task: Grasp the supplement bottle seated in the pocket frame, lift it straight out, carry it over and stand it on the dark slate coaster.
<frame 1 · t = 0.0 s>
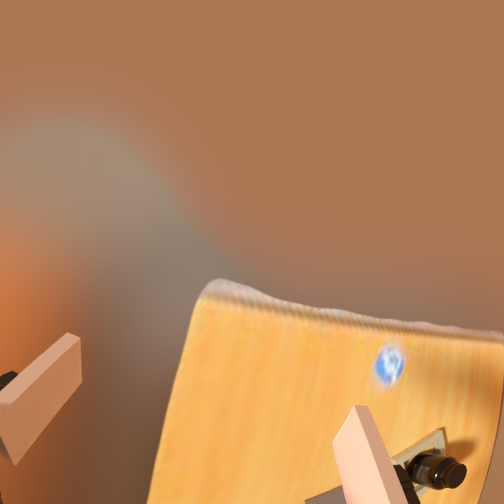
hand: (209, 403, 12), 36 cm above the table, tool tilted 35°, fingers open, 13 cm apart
supplement bottle: (418, 466, 41), resting in pocket frame
pocket frame: (419, 466, 41), on the table
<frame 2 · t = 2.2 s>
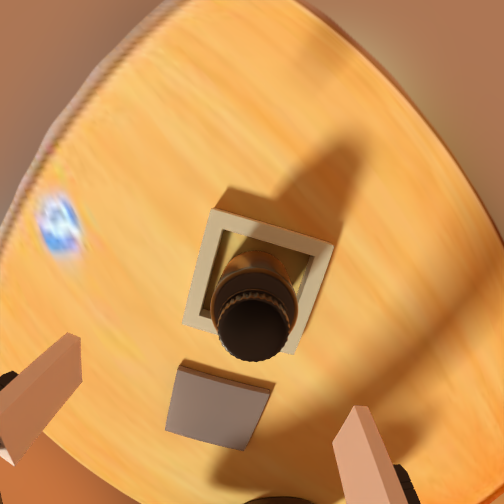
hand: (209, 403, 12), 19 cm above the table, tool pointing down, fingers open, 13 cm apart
slate coaster: (214, 410, 35), on the table
supplement bottle: (255, 280, 31), resting in pocket frame
pocket frame: (255, 281, 31), on the table
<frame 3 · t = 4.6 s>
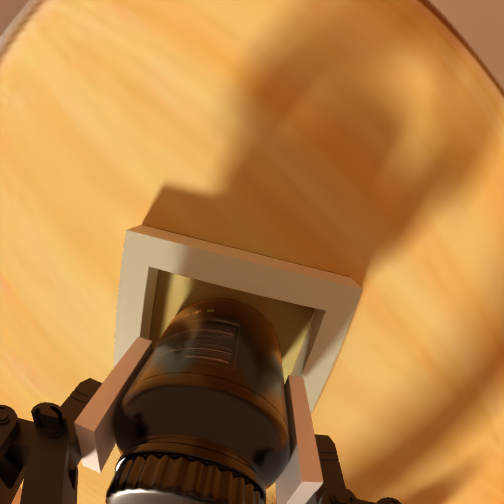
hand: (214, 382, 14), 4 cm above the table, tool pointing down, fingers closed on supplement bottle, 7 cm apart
supplement bottle: (222, 345, 18), resting in pocket frame, touching gripper
pocket frame: (222, 347, 18), on the table
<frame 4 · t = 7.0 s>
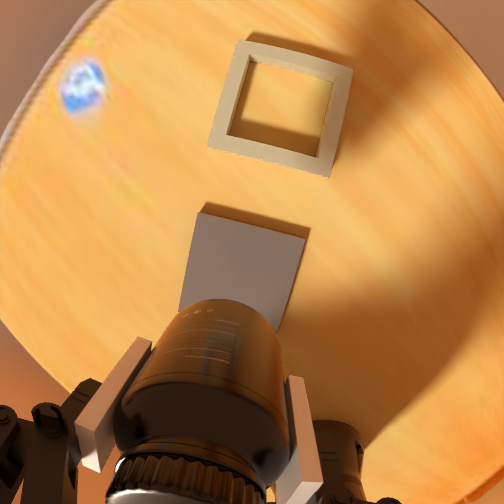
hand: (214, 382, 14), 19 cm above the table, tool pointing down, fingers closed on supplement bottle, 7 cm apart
slate coaster: (239, 275, 32), on the table
supplement bottle: (222, 345, 18), point 15 cm above the table, touching gripper
pocket frame: (282, 107, 29), on the table
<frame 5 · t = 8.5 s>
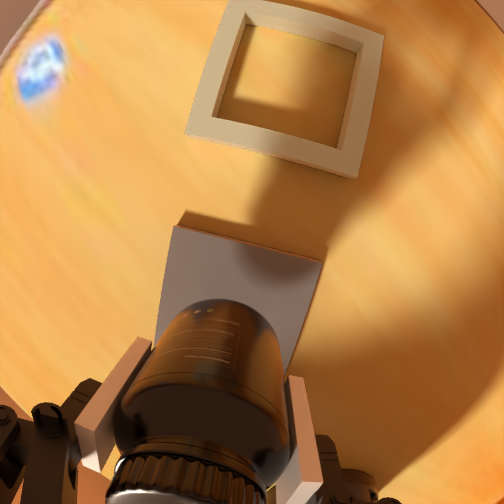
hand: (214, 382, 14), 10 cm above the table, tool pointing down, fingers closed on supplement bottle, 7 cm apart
slate coaster: (231, 309, 24), on the table
supplement bottle: (222, 345, 18), point 6 cm above the table, touching gripper
pocket frame: (289, 82, 20), on the table
when the fingers open (6 cm above the table, at t = 9.7 s): supplement bottle drops 1 cm, resting on slate coaster.
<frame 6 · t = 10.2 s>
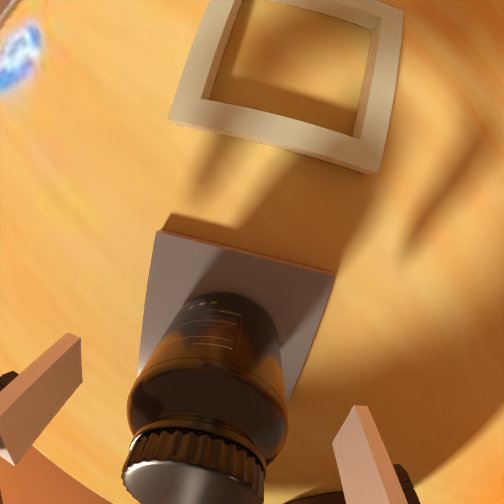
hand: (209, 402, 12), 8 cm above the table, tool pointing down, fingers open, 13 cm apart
slate coaster: (226, 329, 20), on the table
supplement bottle: (225, 335, 19), point 1 cm above the table, touching slate coaster
pocket frame: (295, 60, 16), on the table
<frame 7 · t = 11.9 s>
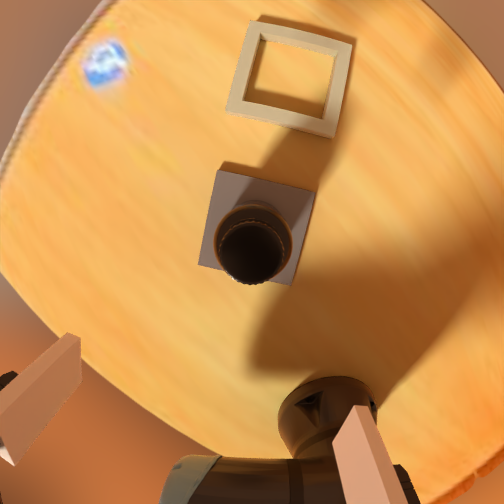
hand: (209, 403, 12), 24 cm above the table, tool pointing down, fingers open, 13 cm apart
slate coaster: (255, 227, 35), on the table
supplement bottle: (255, 229, 34), point 1 cm above the table, touching slate coaster
pocket frame: (290, 78, 31), on the table
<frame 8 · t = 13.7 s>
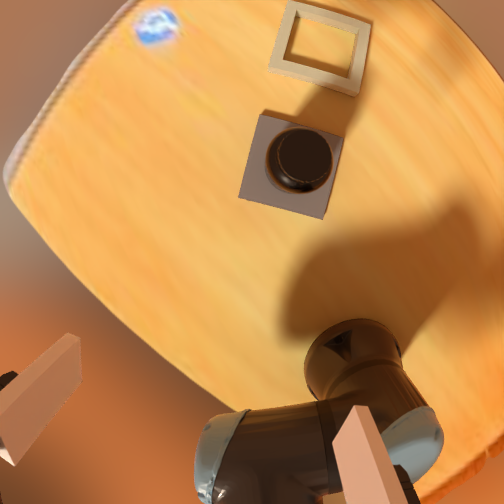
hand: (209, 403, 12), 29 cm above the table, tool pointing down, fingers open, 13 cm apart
slate coaster: (291, 166, 38), on the table
supplement bottle: (291, 166, 37), point 1 cm above the table, touching slate coaster
pocket frame: (320, 47, 34), on the table
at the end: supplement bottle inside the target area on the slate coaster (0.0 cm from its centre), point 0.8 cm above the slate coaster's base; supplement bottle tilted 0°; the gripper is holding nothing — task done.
